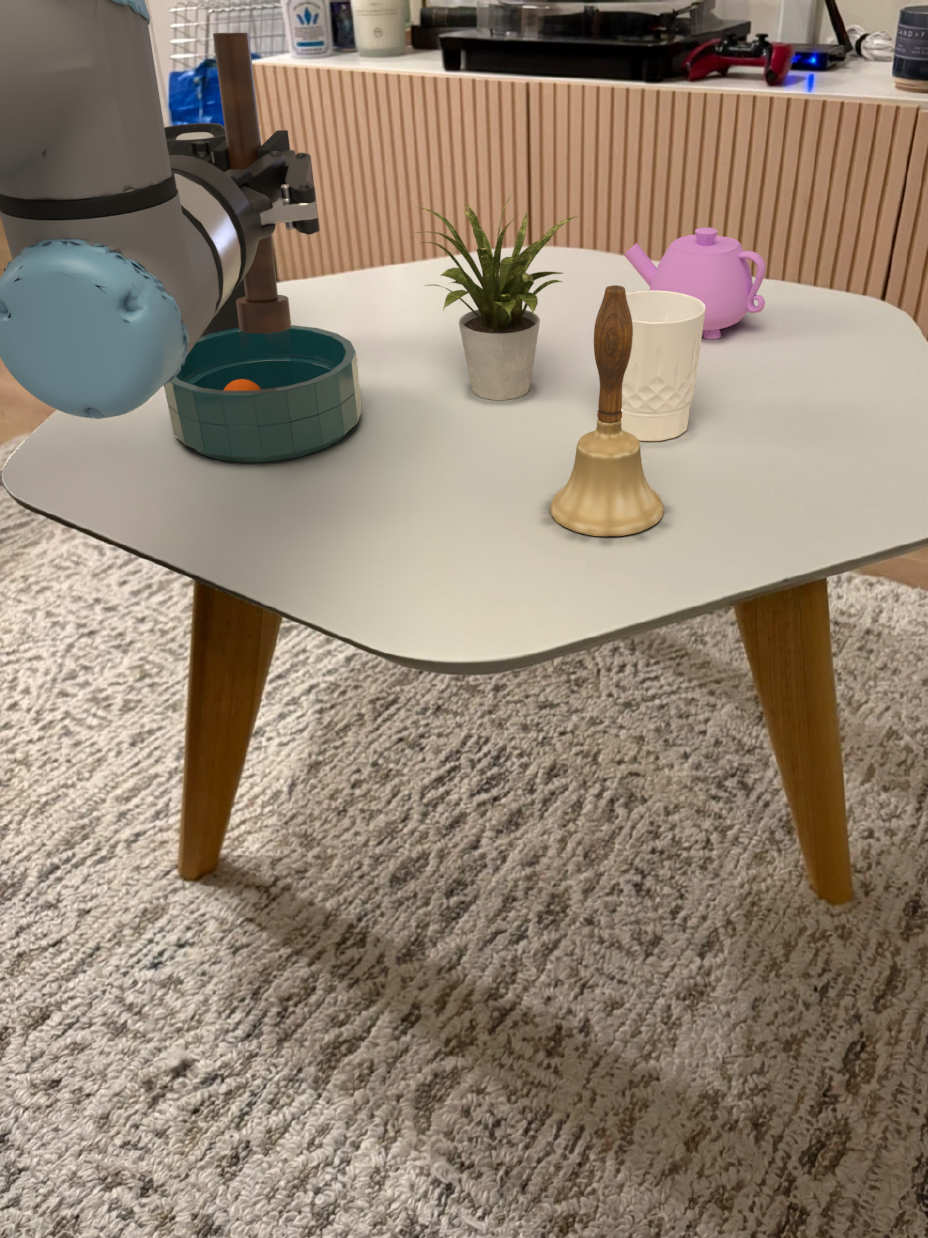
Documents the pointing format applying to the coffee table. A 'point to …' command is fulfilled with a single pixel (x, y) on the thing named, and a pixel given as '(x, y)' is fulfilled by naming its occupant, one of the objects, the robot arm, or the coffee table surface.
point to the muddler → (243, 140)
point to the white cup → (661, 363)
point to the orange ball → (241, 385)
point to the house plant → (498, 310)
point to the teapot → (706, 276)
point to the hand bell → (609, 444)
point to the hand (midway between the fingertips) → (264, 151)
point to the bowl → (266, 394)
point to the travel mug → (181, 145)
